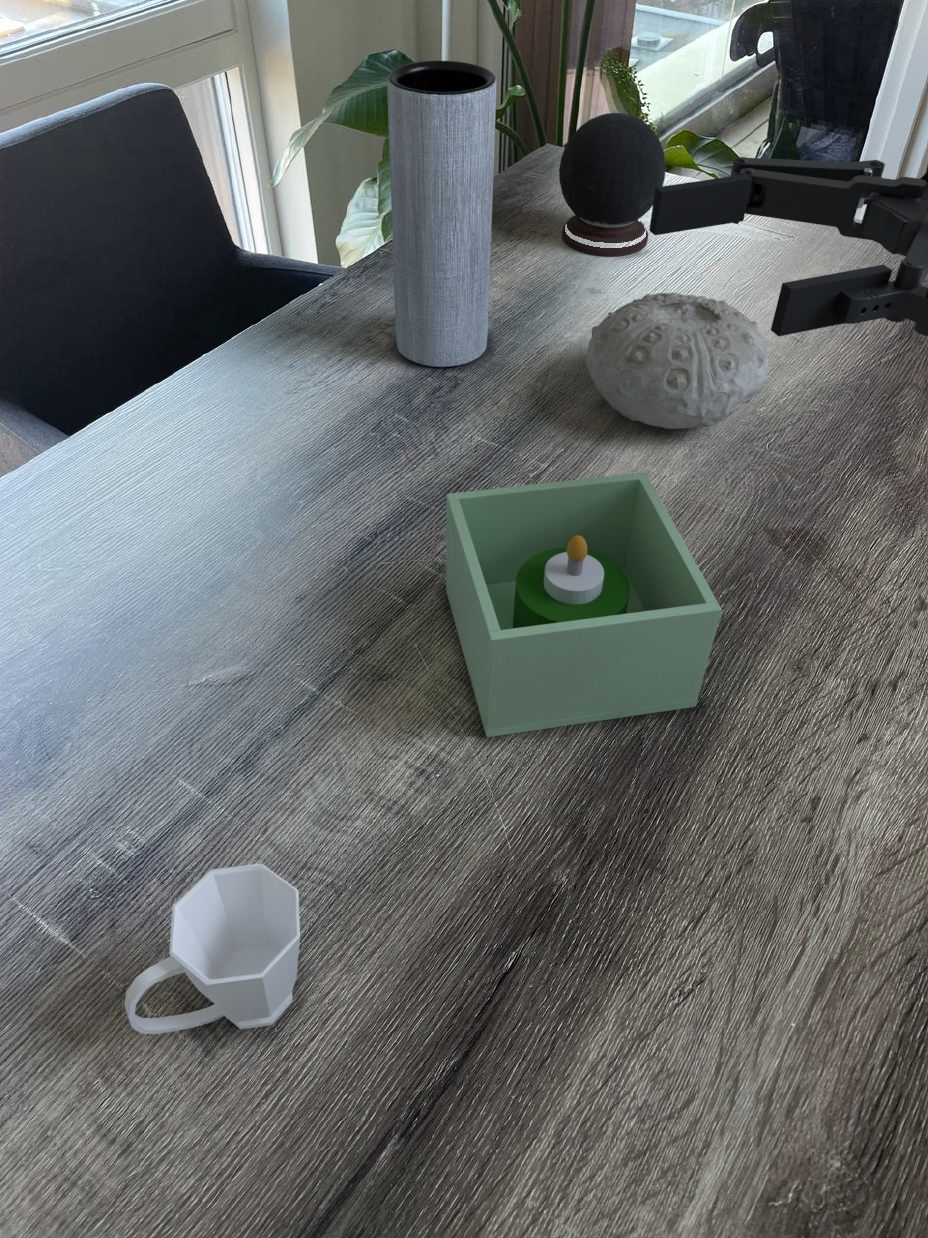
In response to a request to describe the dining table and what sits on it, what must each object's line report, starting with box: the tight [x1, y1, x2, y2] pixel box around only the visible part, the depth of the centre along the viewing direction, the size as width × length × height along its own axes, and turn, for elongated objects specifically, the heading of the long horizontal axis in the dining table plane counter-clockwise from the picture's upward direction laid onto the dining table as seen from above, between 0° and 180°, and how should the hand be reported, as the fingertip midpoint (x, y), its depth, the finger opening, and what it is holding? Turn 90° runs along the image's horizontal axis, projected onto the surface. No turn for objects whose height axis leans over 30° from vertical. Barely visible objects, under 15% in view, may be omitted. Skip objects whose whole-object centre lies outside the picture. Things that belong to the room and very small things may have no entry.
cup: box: [124, 862, 301, 1035], centre depth 53 cm, size 7×10×8 cm
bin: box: [445, 471, 723, 738], centre depth 74 cm, size 16×16×10 cm
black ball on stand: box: [558, 112, 667, 258], centre depth 125 cm, size 13×13×15 cm
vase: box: [386, 60, 498, 368], centre depth 100 cm, size 10×10×27 cm
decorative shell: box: [585, 292, 769, 430], centre depth 99 cm, size 18×18×10 cm
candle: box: [513, 535, 630, 628], centre depth 73 cm, size 8×8×10 cm
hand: (712, 256), depth 58 cm, fingers open, 13 cm apart
